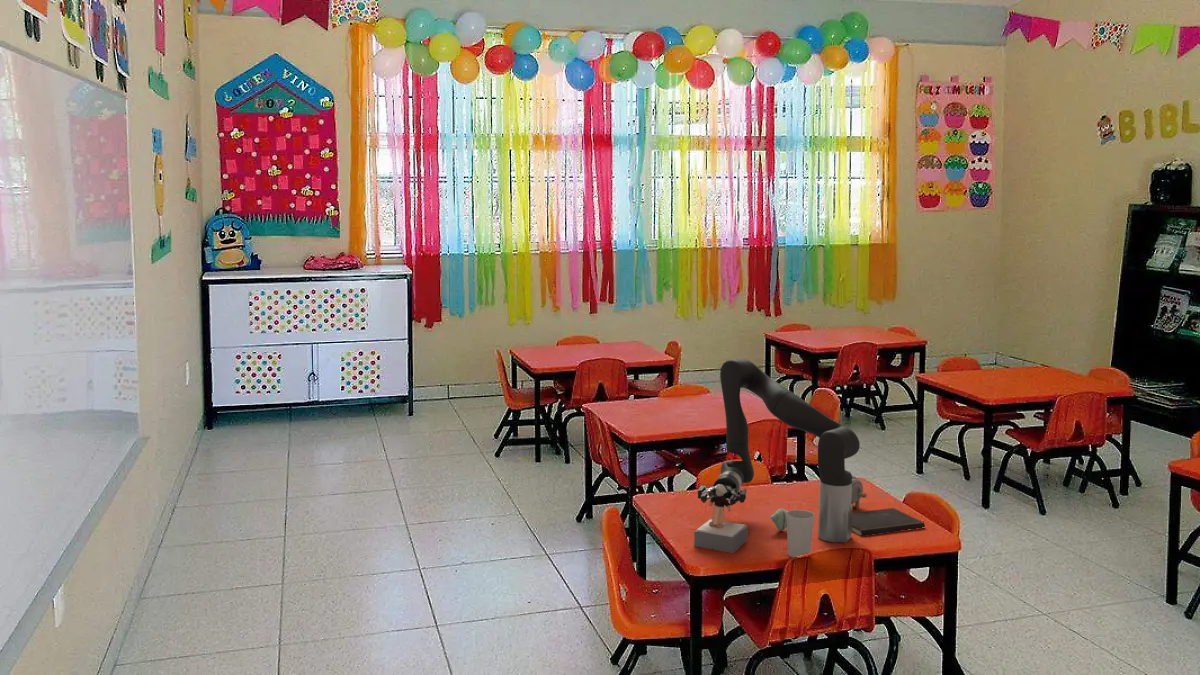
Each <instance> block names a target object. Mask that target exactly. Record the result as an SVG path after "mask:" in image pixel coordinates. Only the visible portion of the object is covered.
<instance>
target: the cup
mask: <svg viewBox="0 0 1200 675" xmlns="http://www.w3.org/2000/svg"><path fill="white" fill-rule="evenodd" d="M815 515H816V514H815V513H814V512H812V511H810V510H805V509H791V510H787V513H786V518H787V528H786V531H787V556H789V557H791V558H794V557H796V556H800V555H805V554H809V553H810V554H811V549H812V548H811V547H812V541H813V540H812V539H813V531H814V524H815Z"/></svg>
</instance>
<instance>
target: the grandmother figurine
mask: <svg viewBox="0 0 1200 675" xmlns="http://www.w3.org/2000/svg"><path fill="white" fill-rule="evenodd" d="M726 492H727V490H726V488H725V487H724V485H722V484H718V485H716V495H715V496H714V497H712V499H711V500H710V499H709V500H710V501H709V504H708V506H709V507H713V509H712V518H711V519H712V522H710V523H709V525H711V526H715V525H716V527H717V528H723V527H724V525H723V521H724V518H725V507H726V509H727V512H731V511H732V508H731V505H730V501H727V499H725V498H724V497H723V495H724V494H725V493H726Z"/></svg>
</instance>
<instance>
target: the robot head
mask: <svg viewBox="0 0 1200 675" xmlns="http://www.w3.org/2000/svg"><path fill="white" fill-rule="evenodd" d="M787 512H788V510H786V509H784V508H778V509H777V510H776V511H775V512H774V513H773V514H771V515H770V519H771V521H772V523H774V525H775V527H776V528H777V530H779V531H785V530H787V518H786V513H787Z"/></svg>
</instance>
